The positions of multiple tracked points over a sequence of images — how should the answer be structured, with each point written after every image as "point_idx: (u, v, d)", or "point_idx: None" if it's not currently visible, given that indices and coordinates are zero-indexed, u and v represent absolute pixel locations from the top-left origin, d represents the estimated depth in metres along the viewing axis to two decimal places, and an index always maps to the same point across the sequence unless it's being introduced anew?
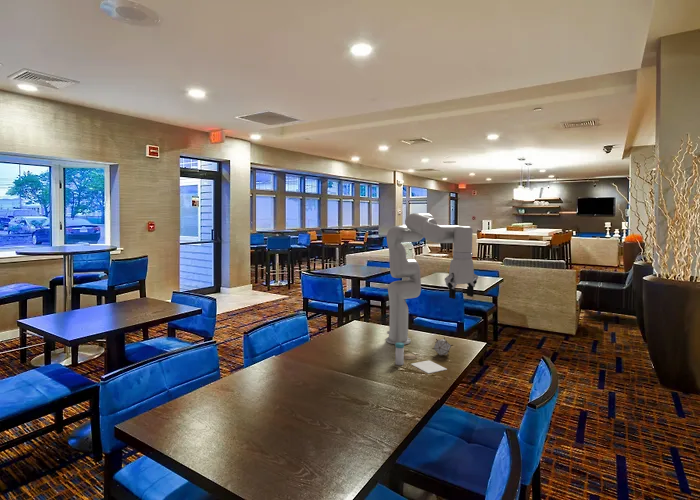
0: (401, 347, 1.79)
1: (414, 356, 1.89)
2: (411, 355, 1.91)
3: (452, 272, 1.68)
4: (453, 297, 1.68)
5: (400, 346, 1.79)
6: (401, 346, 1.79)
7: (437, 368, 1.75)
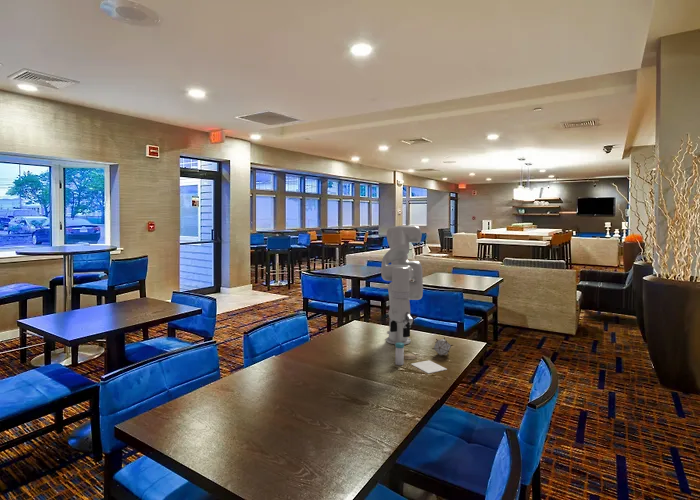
0: (401, 347, 1.79)
1: (414, 356, 1.89)
2: (411, 355, 1.91)
3: (406, 311, 1.74)
4: (408, 335, 1.75)
5: (400, 346, 1.79)
6: (401, 346, 1.79)
7: (437, 368, 1.75)
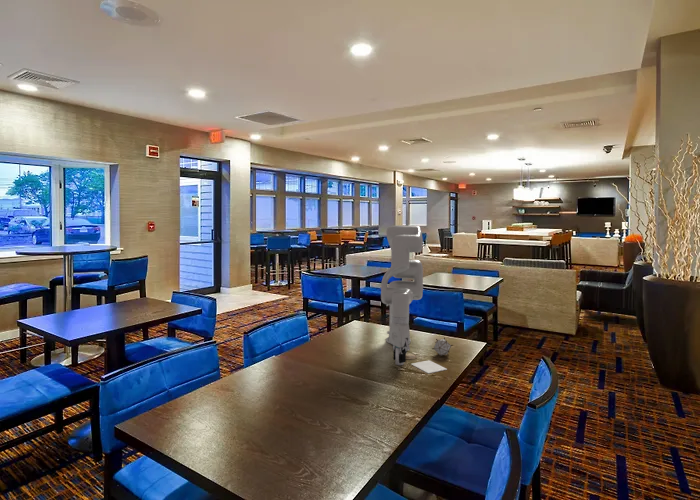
0: None
1: (414, 356, 1.89)
2: (411, 355, 1.91)
3: (406, 337, 1.75)
4: (404, 361, 1.79)
5: None
6: None
7: (437, 368, 1.75)
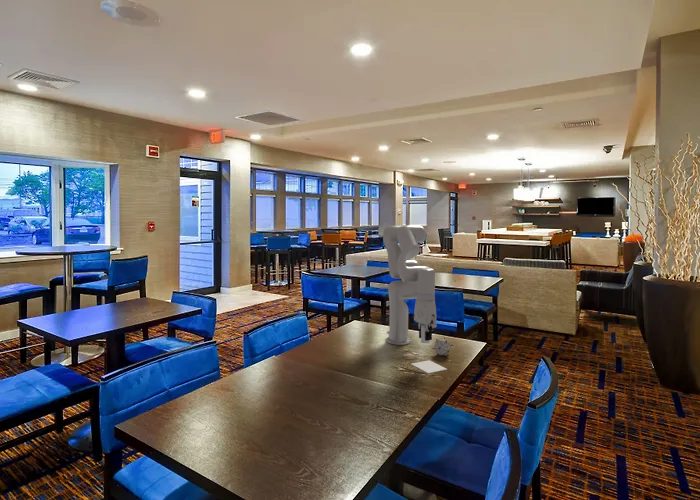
0: None
1: (414, 356, 1.89)
2: (411, 355, 1.91)
3: (432, 313, 1.73)
4: (430, 338, 1.77)
5: None
6: None
7: (437, 368, 1.75)
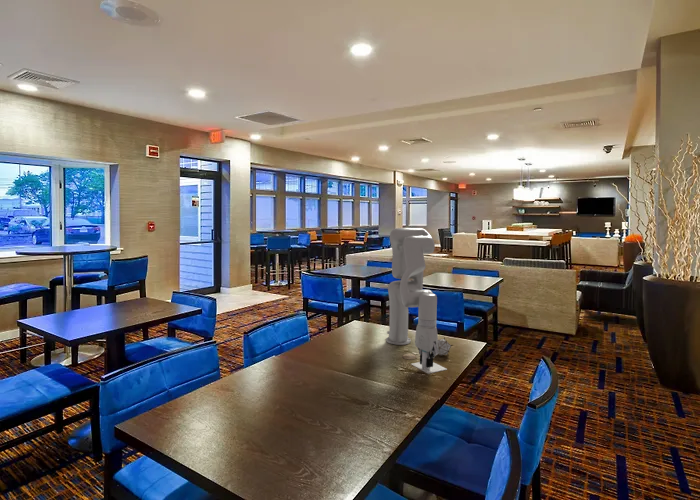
0: None
1: (414, 356, 1.89)
2: (411, 355, 1.91)
3: (434, 340, 1.69)
4: (431, 365, 1.72)
5: None
6: None
7: (437, 368, 1.75)
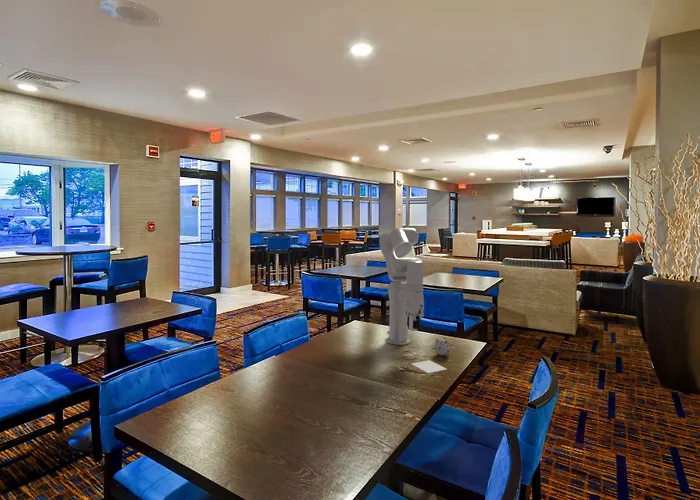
0: None
1: (414, 356, 1.89)
2: (411, 355, 1.91)
3: (420, 304, 1.81)
4: (418, 327, 1.86)
5: None
6: None
7: (437, 368, 1.75)
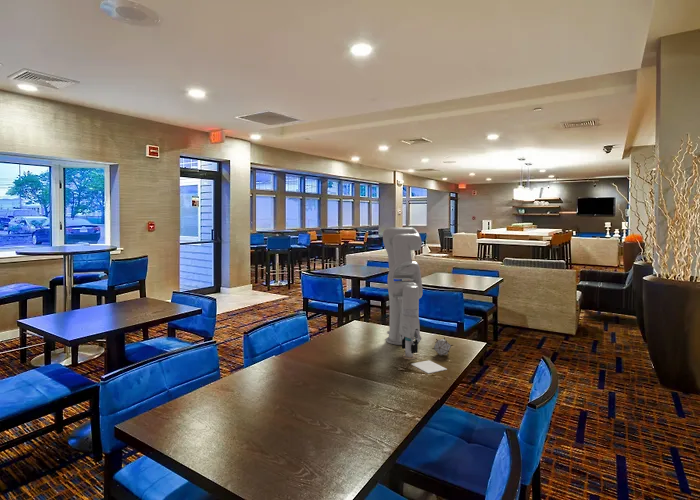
0: None
1: (414, 356, 1.89)
2: None
3: (416, 328, 1.84)
4: (416, 351, 1.86)
5: (410, 339, 1.87)
6: None
7: (437, 368, 1.75)
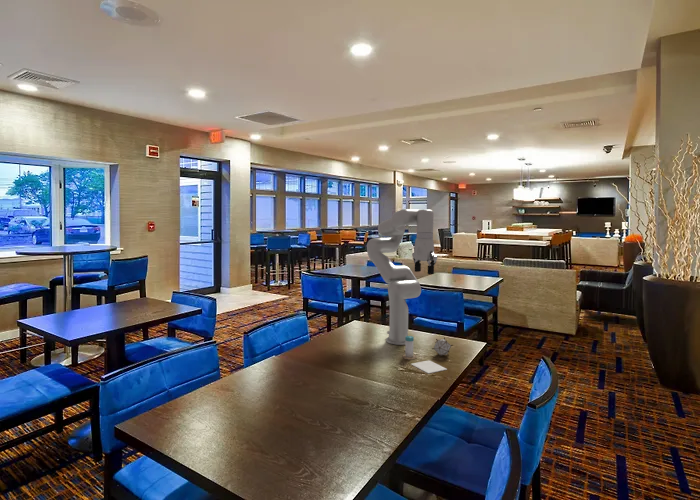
0: (411, 340, 1.87)
1: (414, 356, 1.89)
2: None
3: (431, 250, 1.87)
4: (432, 272, 1.88)
5: (410, 339, 1.87)
6: (411, 339, 1.87)
7: (437, 368, 1.75)
